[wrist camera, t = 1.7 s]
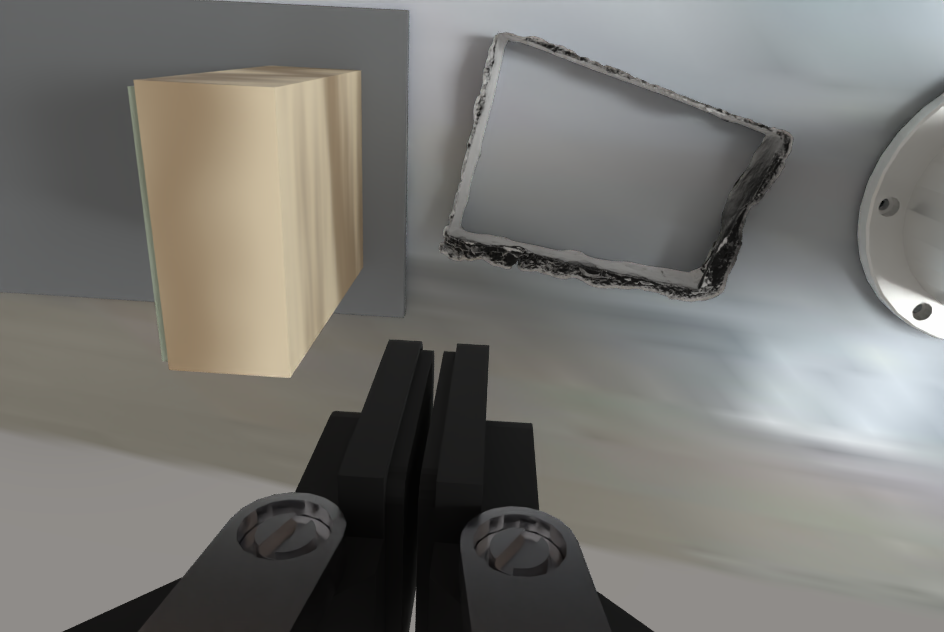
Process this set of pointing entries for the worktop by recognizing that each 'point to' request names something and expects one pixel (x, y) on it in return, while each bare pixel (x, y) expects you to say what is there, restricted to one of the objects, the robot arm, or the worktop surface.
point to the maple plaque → (249, 211)
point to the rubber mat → (112, 140)
